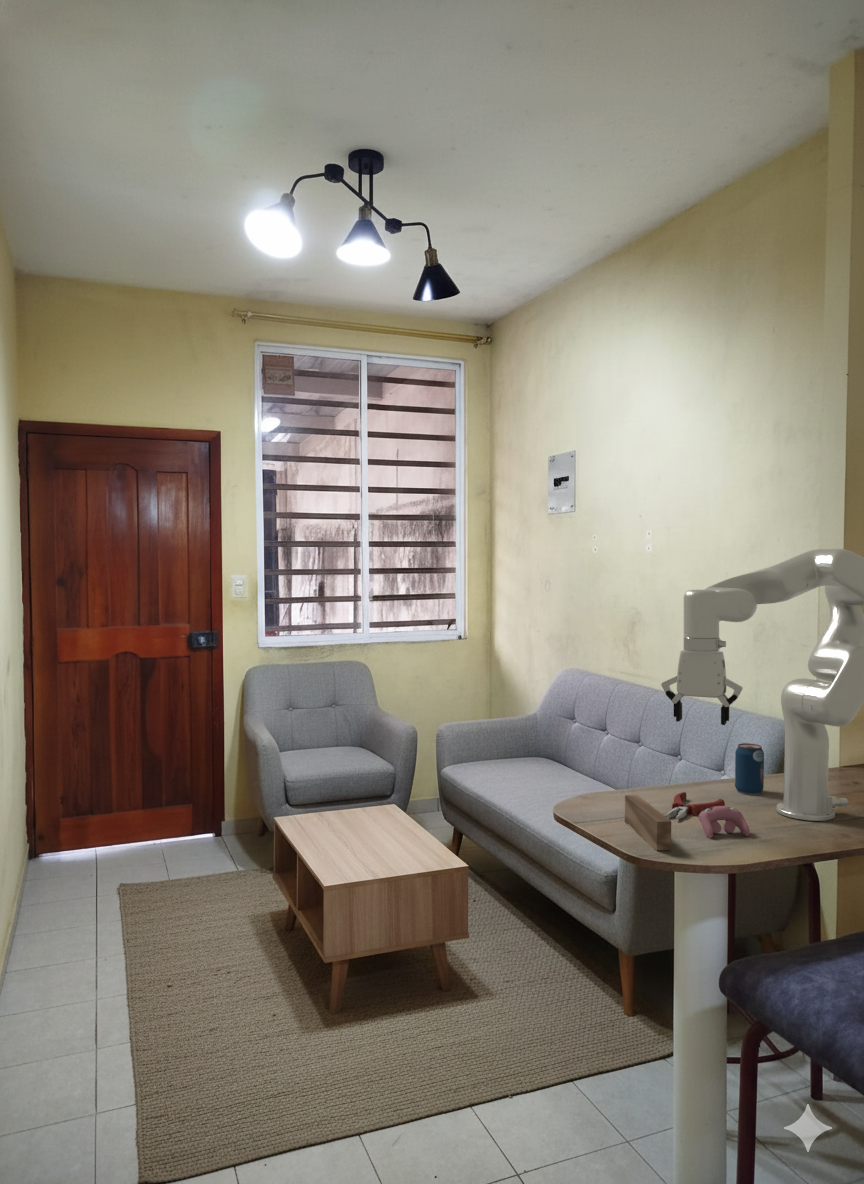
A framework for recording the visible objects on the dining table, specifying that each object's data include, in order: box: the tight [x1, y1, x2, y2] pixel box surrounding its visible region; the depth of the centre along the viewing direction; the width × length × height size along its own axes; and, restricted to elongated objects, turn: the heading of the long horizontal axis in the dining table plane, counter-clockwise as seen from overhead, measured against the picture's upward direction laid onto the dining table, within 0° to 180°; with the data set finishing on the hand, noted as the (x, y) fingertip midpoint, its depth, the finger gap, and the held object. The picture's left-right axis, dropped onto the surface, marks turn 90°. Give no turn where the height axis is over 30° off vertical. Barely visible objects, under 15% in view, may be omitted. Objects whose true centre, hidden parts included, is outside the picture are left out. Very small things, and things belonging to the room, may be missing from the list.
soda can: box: [734, 742, 765, 796], centre depth 220 cm, size 7×7×12 cm
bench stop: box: [624, 794, 672, 852], centre depth 183 cm, size 3×20×6 cm, turn 6°
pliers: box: [664, 791, 726, 820], centre depth 202 cm, size 12×20×3 cm, turn 141°
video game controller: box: [698, 805, 750, 839], centre depth 185 cm, size 10×5×7 cm, turn 98°
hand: (701, 722), depth 190 cm, fingers open, 9 cm apart
